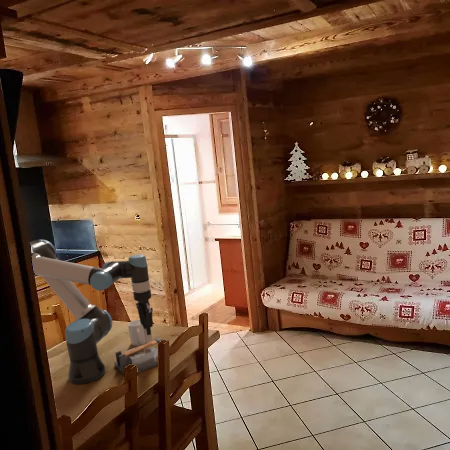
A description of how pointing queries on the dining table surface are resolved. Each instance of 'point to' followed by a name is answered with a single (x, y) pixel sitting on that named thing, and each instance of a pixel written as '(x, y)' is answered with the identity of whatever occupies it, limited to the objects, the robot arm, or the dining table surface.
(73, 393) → the dining table surface
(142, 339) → the mug
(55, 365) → the dining table surface
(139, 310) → the robot arm
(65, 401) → the dining table surface
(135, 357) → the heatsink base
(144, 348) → the brown wooden strip
